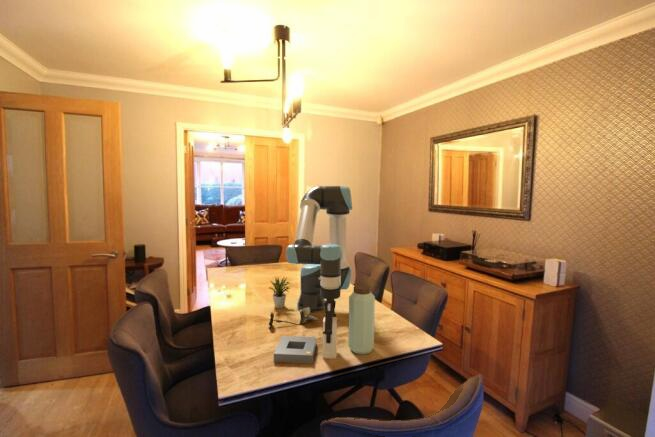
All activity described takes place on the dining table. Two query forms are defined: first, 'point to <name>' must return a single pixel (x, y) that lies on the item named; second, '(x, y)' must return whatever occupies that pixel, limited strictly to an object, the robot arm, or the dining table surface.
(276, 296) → the house plant
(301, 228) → the robot arm
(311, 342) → the socket
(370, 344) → the water bottle
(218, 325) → the dining table surface
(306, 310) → the artificial flower
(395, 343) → the dining table surface
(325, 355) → the cream long rectangular block
